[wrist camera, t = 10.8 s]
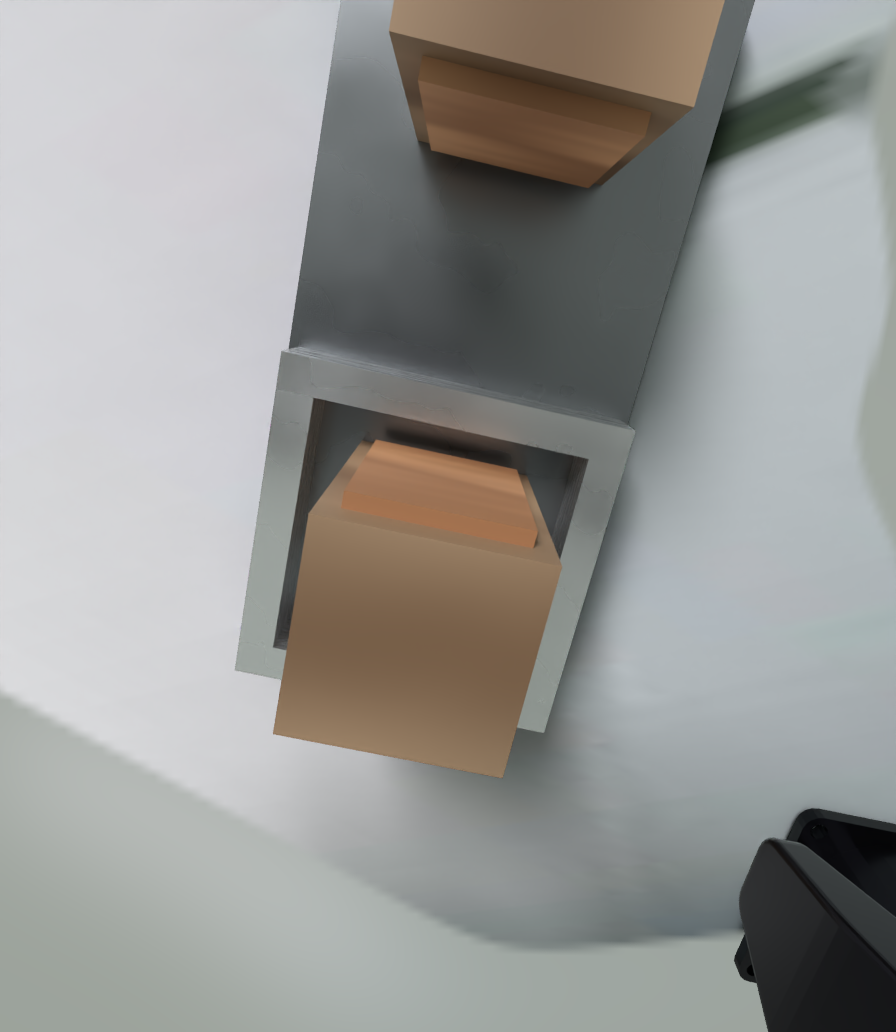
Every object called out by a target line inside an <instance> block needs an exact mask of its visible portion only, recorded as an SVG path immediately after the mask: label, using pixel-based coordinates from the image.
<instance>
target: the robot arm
mask: <svg viewBox="0 0 896 1032" xmlns="http://www.w3.org/2000/svg"><path fill="white" fill-rule="evenodd" d="M816 825H819V826H818V827H817V828H815V829H812V828H813V827H814V826H816ZM739 908H740V915H741V919H742V924H743V928H744V932H745V935H744V937H743V939H742V941H741V944H740V946H739V948H738V950H737V952H736V955H735V959H734V962H735V964H736V967H737V969H738V972H739V974H740V976H741V977H742V978H743V979H744V980H746V981H749V982H754V983H757V987H758V991H759V995H760V999H761V1003H762V1008H763V1012H764V1016H765V1020H766V1025H767V1029H768V1032H896V824H892V823H887V822H882V821H877V820H872V819H867V818H862V817H857V816H852V815H847V814H842V813H837V812H832V811H827V810H822V809H809V810H805V811H804V812H802V813H801V814H800V815H799V816H798V818H797V819H796V821H795V823H794V826H793V828H792V830H791V832H790V835H789V837H788V839H787V840H782V839H777V838H768V839H766V840H764V841H763V842H762V843H761V845H760V847H759V849H758V851H757V854H756V856H755V858H754V860H753V863H752V865H751V867H750V870H749V872H748V874H747V876H746V879H745V881H744V883H743V886H742V888H741V892H740V897H739Z"/></svg>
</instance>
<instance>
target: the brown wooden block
mask: <svg viewBox="0 0 896 1032" xmlns="http://www.w3.org/2000/svg"><path fill="white" fill-rule="evenodd" d="M724 1H725V0H394V3H393V9H392V15H391V20H390V26H389V34H390V38H391V42H392V45H393V49H394V53H395V57H396V61H397V65H398V68H399V72H400V76H401V80H402V84H403V87H404V91H405V95H406V99H407V103H408V107H409V110H410V114H411V118H412V122H413V126H414V129H415V133H416V137H417V140H418V141H422V142H426V143H430V147H431V150H432V151H437V152H441V153H445V154H449V155H453V156H457V157H461V158H465V159H470V160H474V161H478V162H482V163H486V164H490V165H494V166H499V167H503V168H507V169H511V170H515V171H519V172H523V173H527V174H532V175H536V176H540V177H544V178H548V179H552V180H556V181H560V182H565V183H569V184H573V185H577V186H581V187H585V188H589V187H590V186H591V185H593V184H594V183H595V184H599V185H603V184H604V183H605V182H607V181H608V180H609V179H610V178H611V177H612V176H614V175H615V174H616V173H617V172H618V171H619V170H621V169H622V168H623V167H624V166H625V165H627V164H628V163H629V162H630V161H631V160H632V159H634V158H635V157H636V156H637V155H638V154H639V153H641V152H642V151H643V150H644V149H645V148H647V147H648V146H649V145H650V144H651V143H652V142H654V141H655V140H656V139H657V138H658V137H659V136H661V135H662V134H663V133H664V132H665V131H667V130H668V129H669V128H670V127H671V126H672V125H674V124H675V123H676V122H677V121H678V120H679V119H681V118H682V117H683V116H684V115H685V114H687V113H688V112H689V111H690V110H691V109H692V108H694V105H695V102H696V98H697V95H698V91H699V88H700V84H701V81H702V78H703V74H704V71H705V67H706V64H707V60H708V57H709V53H710V50H711V46H712V43H713V39H714V36H715V33H716V29H717V26H718V22H719V19H720V15H721V12H722V8H723V5H724Z"/></svg>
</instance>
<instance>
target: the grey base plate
mask: <svg viewBox="0 0 896 1032" xmlns="http://www.w3.org/2000/svg"><path fill="white" fill-rule="evenodd" d="M754 2H755V0H725V1H724V5H723V8H722V12H721V15H720V19H719V22H718V26H717V29H716V33H715V36H714V39H713V43H712V46H711V50H710V53H709V57H708V60H707V64H706V67H705V71H704V74H703V78H702V81H701V84H700V88H699V91H698V95H697V98H696V102H695V105H694V108H692V109H691V110H690V111H689V112H688V113H687V114H685V115H684V116H683V117H682V118H681V119H679V120H678V121H677V122H676V123H675V124H674V125H672V126H671V127H670V128H669V129H668V130H667V131H665V132H664V133H663V134H662V135H661V136H659V137H658V138H657V139H656V140H655V141H654V142H652V143H651V144H650V145H649V146H648V147H647V148H645V149H644V150H643V151H642V152H641V153H639V154H638V155H637V156H636V157H635V158H634V159H632V160H631V161H630V162H629V163H628V164H627V165H625V166H624V167H623V168H622V169H621V170H619V171H618V172H617V173H616V174H615V175H614V176H612V177H611V178H610V179H609V180H608V181H607V182H605V183H604V184H603V185H599V184H595V183H594V184H593V185H591V186H590V187H589V188H585V187H581V186H577V185H573V184H569V183H565V182H560V181H556V180H552V179H548V178H544V177H540V176H536V175H532V174H527V173H523V172H519V171H515V170H511V169H507V168H503V167H499V166H494V165H490V164H486V163H482V162H478V161H474V160H470V159H465V158H461V157H457V156H453V155H449V154H445V153H441V152H437V151H432V150H431V147H430V143H426V142H422V141H418V140H417V137H416V133H415V129H414V126H413V122H412V118H411V114H410V110H409V107H408V103H407V99H406V95H405V91H404V87H403V84H402V80H401V76H400V72H399V68H398V65H397V61H396V57H395V53H394V49H393V45H392V42H391V38H390V34H389V26H390V20H391V15H392V9H393V3H394V0H341V1H340V8H339V14H338V21H337V28H336V35H335V41H334V48H333V55H332V61H331V68H330V75H329V82H328V88H327V95H326V102H325V108H324V115H323V122H322V129H321V135H320V142H319V149H318V155H317V162H316V169H315V175H314V182H313V189H312V196H311V202H310V209H309V216H308V222H307V229H306V236H305V243H304V249H303V256H302V263H301V269H300V276H299V283H298V290H297V296H296V303H295V310H294V316H293V323H292V330H291V337H290V343H289V349H287V350H283V351H281V358H280V365H279V372H278V379H277V386H276V392H275V399H274V406H273V413H272V420H271V427H270V433H269V440H268V447H267V454H266V461H265V468H264V474H263V481H262V488H261V495H260V502H259V509H258V515H257V522H256V529H255V536H254V543H253V550H252V557H251V563H250V570H249V577H248V584H247V591H246V598H245V604H244V611H243V618H242V625H241V632H240V639H239V645H238V652H237V659H236V666H235V670H236V671H241V672H246V673H251V674H256V675H261V676H266V677H270V678H275V679H280V680H282V675H283V669H284V663H285V657H286V650H287V644H288V638H289V632H290V626H291V620H292V613H293V607H294V601H295V595H296V589H297V582H298V576H299V570H300V564H301V558H302V552H303V545H304V539H305V533H306V527H307V521H308V514H309V512H310V511H311V510H312V508H313V507H314V506H315V504H316V503H317V501H318V500H319V499H320V497H321V496H322V495H323V493H324V492H325V491H326V489H327V488H328V486H329V485H330V484H331V482H332V481H333V480H334V478H335V477H336V475H337V474H338V473H339V471H340V470H341V469H342V467H343V466H344V465H345V463H346V462H347V460H348V459H349V458H350V456H351V455H352V454H353V452H354V451H355V449H356V448H357V447H358V445H359V444H360V443H361V441H362V440H363V441H368V442H372V443H374V442H375V441H376V440H381V441H386V442H390V443H395V444H400V445H404V446H409V447H414V448H418V449H423V450H428V451H432V452H437V453H442V454H446V455H451V456H456V457H460V458H465V459H470V460H474V461H479V462H484V463H488V464H493V465H498V466H502V467H507V468H512V469H516V470H517V472H518V474H522V475H526V476H527V477H528V480H529V482H530V485H531V487H532V490H533V493H534V495H535V498H536V500H537V503H538V505H539V508H540V511H541V513H542V516H543V518H544V521H545V523H546V526H547V529H548V531H549V534H550V536H551V539H552V541H553V544H554V546H555V549H556V552H557V554H558V557H559V559H560V562H561V564H562V569H561V573H560V576H559V580H558V584H557V587H556V591H555V594H554V598H553V601H552V605H551V608H550V612H549V615H548V619H547V623H546V626H545V630H544V633H543V637H542V640H541V644H540V647H539V651H538V654H537V658H536V662H535V665H534V669H533V672H532V676H531V679H530V683H529V686H528V690H527V693H526V697H525V701H524V704H523V708H522V711H521V715H520V718H519V722H518V725H517V728H521V729H526V730H531V731H536V732H541V733H544V731H545V728H546V725H547V721H548V718H549V715H550V711H551V708H552V705H553V702H554V698H555V695H556V692H557V688H558V685H559V682H560V679H561V675H562V672H563V669H564V665H565V662H566V659H567V656H568V652H569V649H570V646H571V642H572V639H573V636H574V633H575V629H576V626H577V623H578V619H579V616H580V613H581V610H582V606H583V603H584V600H585V596H586V593H587V590H588V587H589V583H590V580H591V577H592V573H593V570H594V567H595V564H596V560H597V557H598V554H599V550H600V547H601V544H602V541H603V537H604V534H605V531H606V528H607V524H608V521H609V518H610V514H611V511H612V508H613V505H614V501H615V498H616V495H617V491H618V488H619V485H620V482H621V478H622V475H623V472H624V468H625V465H626V462H627V459H628V455H629V452H630V449H631V445H632V442H633V439H634V436H635V432H636V431H635V430H634V429H632V428H631V427H630V426H628V422H629V418H630V415H631V412H632V408H633V405H634V402H635V398H636V395H637V392H638V388H639V385H640V382H641V378H642V375H643V372H644V368H645V365H646V362H647V358H648V355H649V352H650V348H651V345H652V342H653V338H654V335H655V332H656V328H657V325H658V322H659V318H660V315H661V312H662V308H663V305H664V302H665V298H666V295H667V292H668V288H669V285H670V282H671V278H672V275H673V272H674V268H675V265H676V262H677V258H678V255H679V252H680V248H681V245H682V242H683V238H684V235H685V232H686V228H687V225H688V222H689V218H690V215H691V212H692V208H693V205H694V202H695V198H696V195H697V192H698V188H699V185H700V182H701V178H702V175H703V172H704V168H705V165H706V162H707V158H708V155H709V152H710V148H711V145H712V142H713V138H714V135H715V132H716V128H717V125H718V122H719V118H720V115H721V112H722V108H723V105H724V102H725V98H726V95H727V92H728V88H729V85H730V82H731V78H732V75H733V72H734V68H735V65H736V62H737V58H738V55H739V52H740V48H741V45H742V42H743V38H744V35H745V32H746V28H747V25H748V22H749V18H750V15H751V12H752V8H753V5H754Z"/></svg>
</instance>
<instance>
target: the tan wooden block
mask: <svg viewBox="0 0 896 1032" xmlns="http://www.w3.org/2000/svg"><path fill="white" fill-rule="evenodd" d="M561 569H562V564H561V562H560V559H559V557H558V554H557V552H556V549H555V546H554V544H553V541H552V539H551V536H550V534H549V531H548V529H547V526H546V523H545V521H544V518H543V516H542V513H541V511H540V508H539V505H538V503H537V500H536V498H535V495H534V493H533V490H532V487H531V485H530V482H529V480H528V477H527V476H526V475H522V474H518V472H517V470H516V469H512V468H507V467H502V466H498V465H493V464H488V463H484V462H479V461H474V460H470V459H465V458H460V457H456V456H451V455H446V454H442V453H437V452H432V451H428V450H423V449H418V448H414V447H409V446H404V445H400V444H395V443H390V442H386V441H381V440H376V441H375V442H374V443H372V442H368V441H363V440H362V441H361V443H360V444H359V445H358V447H357V448H356V449H355V451H354V452H353V454H352V455H351V456H350V458H349V459H348V460H347V462H346V463H345V465H344V466H343V467H342V469H341V470H340V471H339V473H338V474H337V475H336V477H335V478H334V480H333V481H332V482H331V484H330V485H329V486H328V488H327V489H326V491H325V492H324V493H323V495H322V496H321V497H320V499H319V500H318V501H317V503H316V504H315V506H314V507H313V508H312V510H311V511H310V512H309V514H308V521H307V527H306V533H305V539H304V545H303V552H302V558H301V564H300V570H299V576H298V582H297V589H296V595H295V601H294V607H293V613H292V620H291V626H290V632H289V638H288V644H287V650H286V657H285V663H284V669H283V675H282V681H281V688H280V694H279V700H278V706H277V712H276V718H275V725H274V731H273V734H276V735H281V736H286V737H291V738H296V739H301V740H307V741H312V742H317V743H322V744H327V745H332V746H338V747H343V748H348V749H353V750H358V751H363V752H369V753H374V754H379V755H384V756H389V757H394V758H400V759H405V760H410V761H415V762H420V763H425V764H431V765H436V766H441V767H446V768H451V769H456V770H462V771H467V772H472V773H477V774H482V775H487V776H493V777H498V778H503V775H504V771H505V768H506V764H507V761H508V757H509V754H510V750H511V747H512V743H513V740H514V736H515V732H516V729H517V725H518V722H519V718H520V715H521V711H522V708H523V704H524V701H525V697H526V693H527V690H528V686H529V683H530V679H531V676H532V672H533V669H534V665H535V662H536V658H537V654H538V651H539V647H540V644H541V640H542V637H543V633H544V630H545V626H546V623H547V619H548V615H549V612H550V608H551V605H552V601H553V598H554V594H555V591H556V587H557V584H558V580H559V576H560V573H561Z"/></svg>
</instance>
